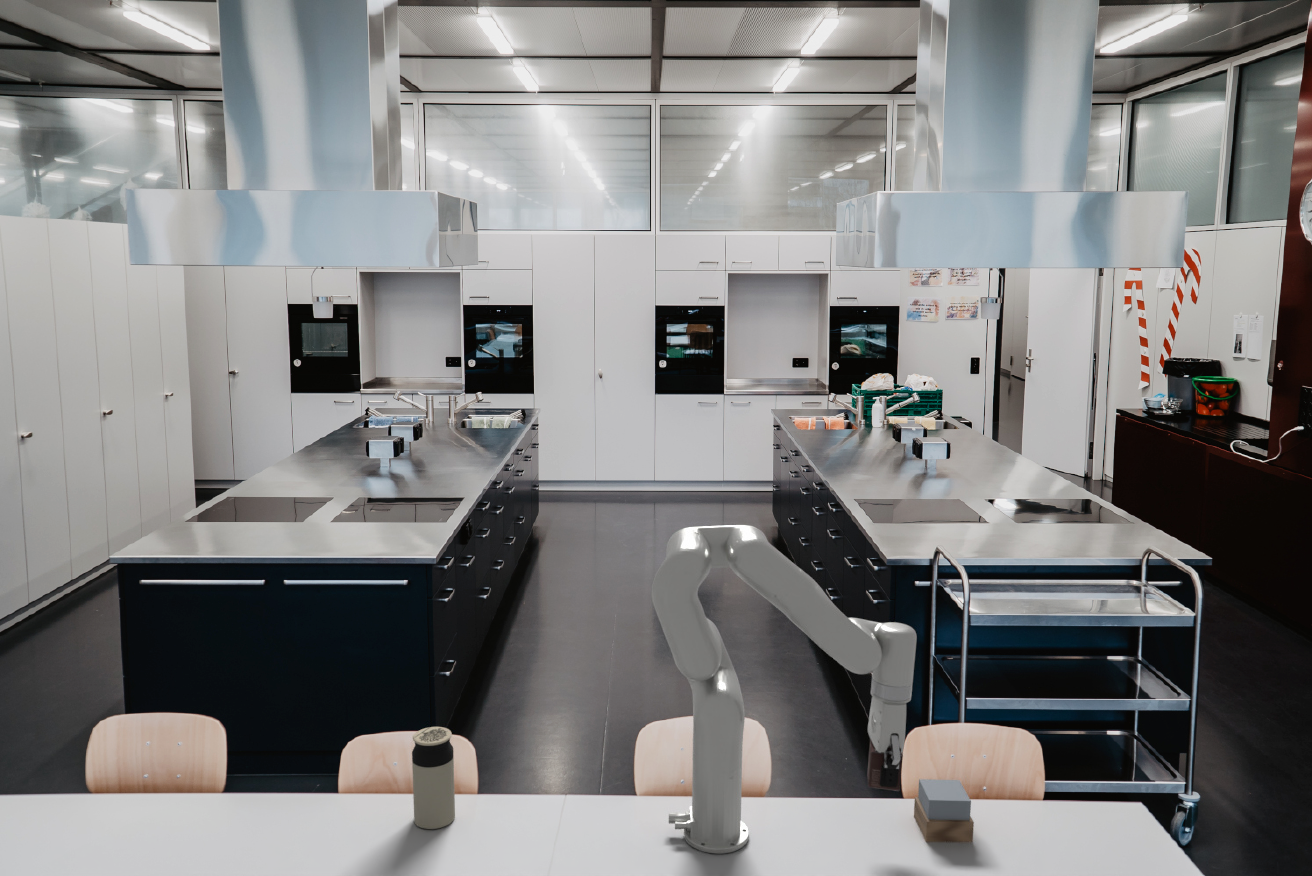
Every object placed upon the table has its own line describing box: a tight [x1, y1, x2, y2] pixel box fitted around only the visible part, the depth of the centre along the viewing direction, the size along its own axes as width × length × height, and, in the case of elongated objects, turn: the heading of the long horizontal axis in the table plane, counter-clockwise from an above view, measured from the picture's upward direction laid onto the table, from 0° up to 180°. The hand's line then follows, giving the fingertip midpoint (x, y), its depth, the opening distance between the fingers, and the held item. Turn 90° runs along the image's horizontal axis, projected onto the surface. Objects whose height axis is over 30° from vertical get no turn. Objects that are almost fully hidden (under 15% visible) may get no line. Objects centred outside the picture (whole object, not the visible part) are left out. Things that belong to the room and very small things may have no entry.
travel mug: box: [411, 726, 456, 830], centre depth 189 cm, size 8×8×18 cm
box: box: [866, 738, 904, 792], centre depth 183 cm, size 6×6×7 cm
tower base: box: [913, 796, 975, 843], centre depth 188 cm, size 9×9×4 cm
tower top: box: [917, 778, 972, 820], centre depth 187 cm, size 8×8×4 cm
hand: (883, 775), depth 183 cm, fingers closed on box, 6 cm apart
